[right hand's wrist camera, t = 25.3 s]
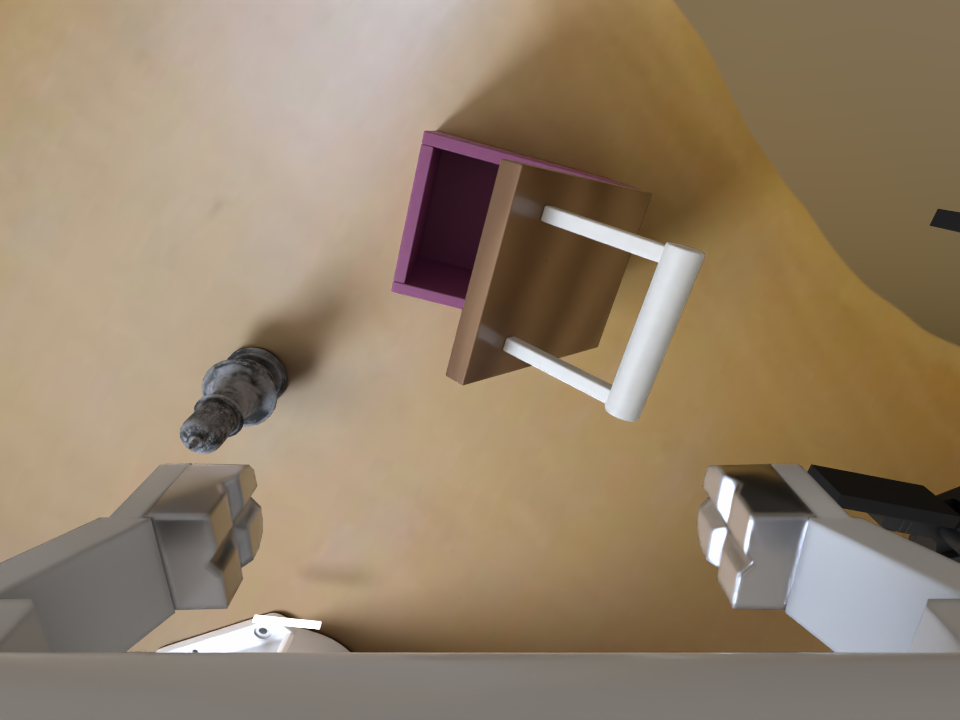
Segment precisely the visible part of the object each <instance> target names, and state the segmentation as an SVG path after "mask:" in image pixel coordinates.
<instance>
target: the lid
mask: <svg viewBox="0 0 960 720" xmlns="http://www.w3.org/2000/svg"><path fill="white" fill-rule="evenodd" d="M651 196H652V194H651V193H648V192H645V191H642V190H638V189H634V188H630V187H626V186H621V185H617V184H613V183H608V182H604V181H599V180H595V179H591V178H586V177H582V176H578V175H573V174H569V173H565V172H560V171H556V170H552V169H547V168H543V167H539V166H534V165H530V164H525V163H521V162H517V161H512V160H508V159H504V158H503V159H501V162H500V165H499V169H498V173H497V177H496V181H495V185H494V189H493V193H492V197H491V201H490V204H489V208H488V212H487V216H486V220H485V224H484V228H483V232H482V236H481V240H480V243H479V247H478V251H477V255H476V259H475V263H474V267H473V271H472V275H471V279H470V282H469V286H468V290H467V294H466V298H465V302H464V306H463V310H462V314H461V318H460V321H459V325H458V329H457V333H456V337H455V341H454V345H453V349H452V353H451V357H450V360H449V364H448V368H447V372H446V376H448V377H449V378H451V379H453V380H454V381H456V382H458V383H459V384H461V385H466V384H469V383H473V382H476V381H480V380H483V379H487V378H490V377H494V376H498V375H501V374H505V373H508V372H512V371H515V370H519V369H522V368H526V367H529V366H534V367H536V368H538V369H540V370H542V371H544V372H546V373H548V374H549V375H551V376H553V377H555V378H557V379H559V380H561V381H563V382H565V383H567V384H569V385H571V386H572V387H574V388H576V389H578V390H580V391H582V392H584V393H586V394H588V395H590V396H592V397H594V398H596V399H597V400H599V401H601V402H603V403H605V409H606V411H607V412H608V413H610V414H611V415H613V416H615V417H617V418H619V419H622V420H625V421H637V420H638V419H639V417H640V415H641V412H642V410H643V407H644V405H645V402H646V400H647V398H648V395H649V393H650V390H651V388H652V385H653V383H654V380H655V378H656V375H657V373H658V370H659V368H660V365H661V363H662V361H663V358H664V356H665V353H666V351H667V348H668V346H669V343H670V341H671V338H672V336H673V333H674V331H675V328H676V326H677V324H678V321H679V319H680V316H681V314H682V311H683V309H684V306H685V304H686V301H687V299H688V296H689V294H690V291H691V289H692V286H693V284H694V282H695V279H696V277H697V274H698V272H699V269H700V267H701V264H702V262H703V259H704V257H705V253H704V252H702V251H699V250H697V249H694V248H691V247H688V246H685V245H681V244H677V243H673V242H666V244H663V243H661V242H658V241H655V240H652V239H649V238H646V237H643V236H640V235H638V232H639V230H640V227H641V224H642V221H643V218H644V216H645V213H646V210H647V207H648V204H649V202H650V199H651ZM631 253H632V254H635V255H638V256H641V257H643V258H646V259H649V260H652V261H655V262H657V263H658V265H657V268H656V270H655V273H654V276H653V278H652V281H651V284H650V286H649V289H648V292H647V294H646V297H645V300H644V302H643V305H642V308H641V310H640V313H639V316H638V318H637V321H636V324H635V326H634V329H633V332H632V334H631V337H630V339H629V342H628V345H627V347H626V350H625V353H624V355H623V358H622V361H621V363H620V366H619V369H618V371H617V374H616V377H615V379H614V382H613V385H611V384H609V383H607V382H605V381H603V380H601V379H599V378H597V377H595V376H593V375H591V374H589V373H587V372H585V371H583V370H581V369H579V368H577V367H575V366H573V365H571V364H569V363H567V362H565V361H563V360H561V359H559V358H561V357H564V356H568V355H571V354H575V353H579V352H582V351H586V350H589V349H593V348H596V347H598V345H599V342H600V339H601V336H602V333H603V331H604V328H605V325H606V322H607V319H608V317H609V314H610V311H611V308H612V305H613V302H614V300H615V297H616V294H617V291H618V288H619V286H620V283H621V280H622V277H623V274H624V272H625V269H626V266H627V263H628V260H629V258H630V255H631Z"/></svg>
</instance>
